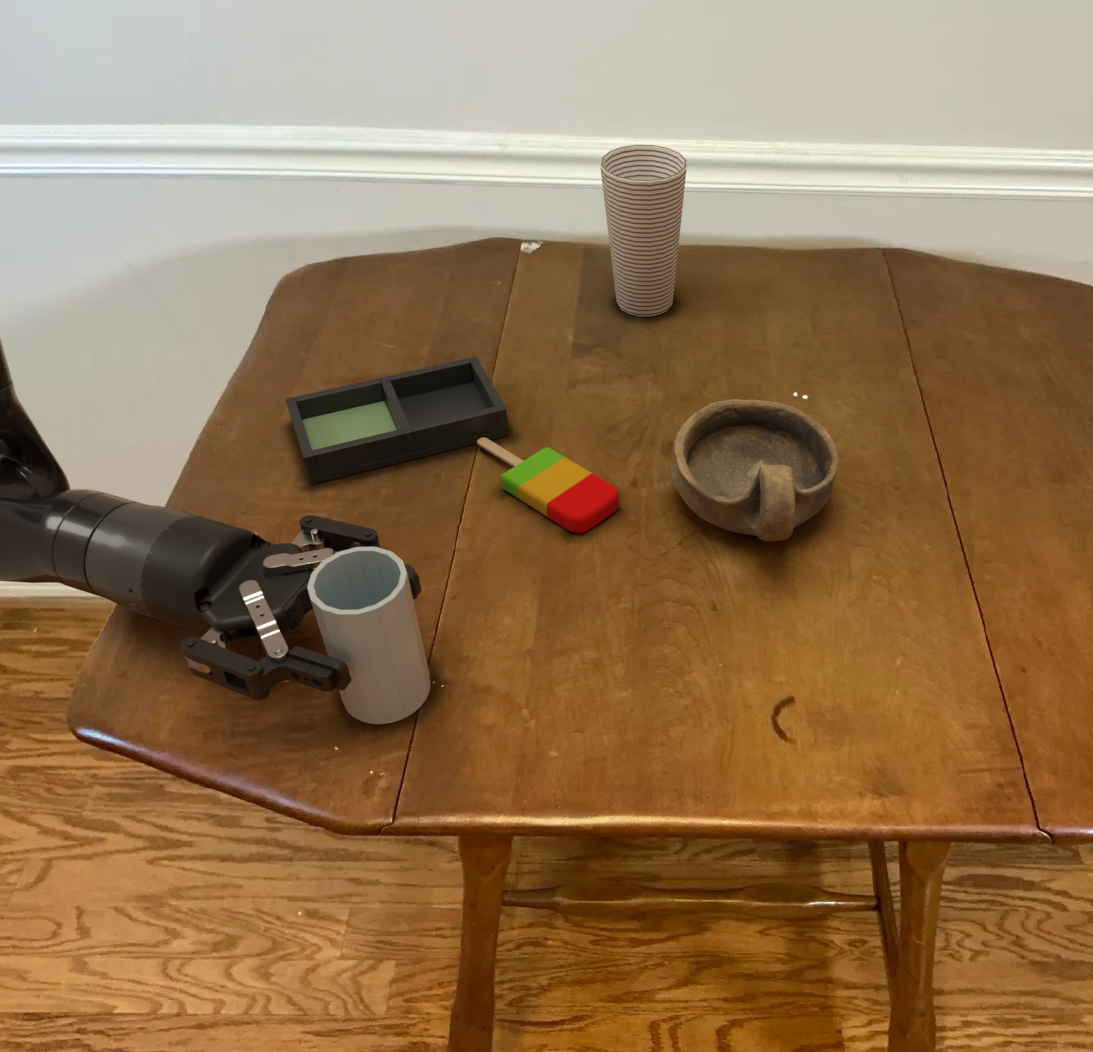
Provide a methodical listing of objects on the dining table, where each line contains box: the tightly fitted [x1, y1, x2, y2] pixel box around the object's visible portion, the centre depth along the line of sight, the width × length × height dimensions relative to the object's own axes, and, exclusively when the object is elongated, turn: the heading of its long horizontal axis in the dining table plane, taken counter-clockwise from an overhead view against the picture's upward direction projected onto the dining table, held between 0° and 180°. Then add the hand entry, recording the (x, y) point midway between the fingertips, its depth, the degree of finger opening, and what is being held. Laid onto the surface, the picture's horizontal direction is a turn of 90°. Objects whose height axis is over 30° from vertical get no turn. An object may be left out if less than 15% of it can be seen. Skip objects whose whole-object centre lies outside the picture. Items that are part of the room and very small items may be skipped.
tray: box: [285, 355, 510, 485], centre depth 96 cm, size 17×9×3 cm, turn 115°
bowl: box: [669, 398, 840, 542], centre depth 86 cm, size 14×18×10 cm
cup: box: [599, 144, 688, 317], centre depth 109 cm, size 8×8×16 cm
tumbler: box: [307, 547, 431, 725], centre depth 71 cm, size 6×6×11 cm
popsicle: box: [476, 437, 620, 534], centre depth 91 cm, size 6×15×2 cm, turn 50°
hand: (383, 629), depth 70 cm, fingers open, 8 cm apart
